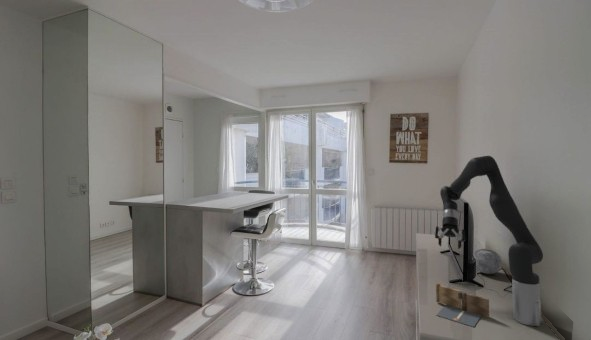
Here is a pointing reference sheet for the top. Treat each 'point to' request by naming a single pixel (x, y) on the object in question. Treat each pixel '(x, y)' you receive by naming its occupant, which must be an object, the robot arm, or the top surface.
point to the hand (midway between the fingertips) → (449, 247)
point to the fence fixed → (475, 304)
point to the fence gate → (448, 296)
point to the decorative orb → (487, 261)
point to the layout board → (459, 315)
